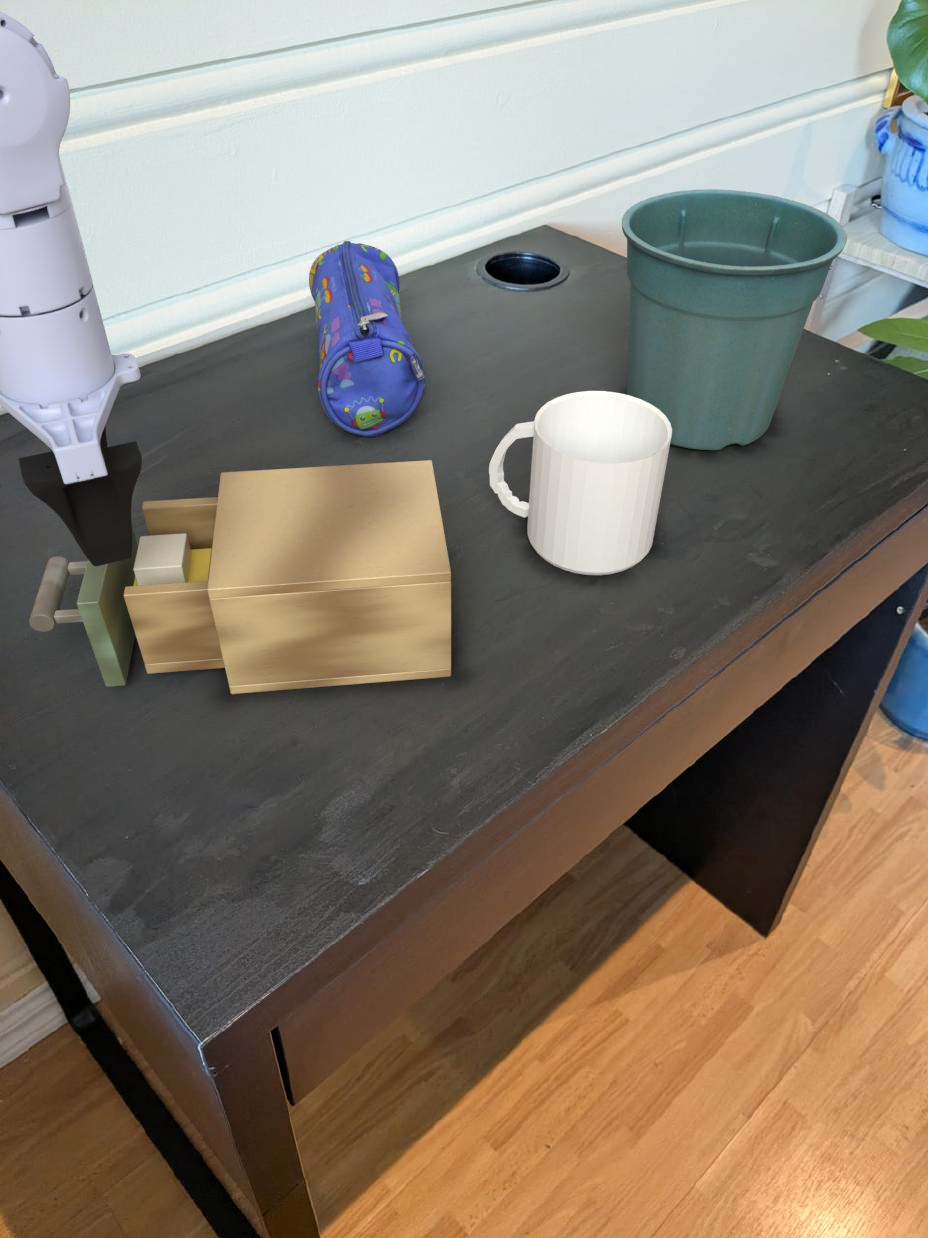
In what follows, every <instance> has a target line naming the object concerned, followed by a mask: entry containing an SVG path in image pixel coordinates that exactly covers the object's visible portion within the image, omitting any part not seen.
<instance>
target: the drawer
mask: <svg viewBox="0 0 928 1238" xmlns="http://www.w3.org/2000/svg"><path fill="white" fill-rule="evenodd" d="M217 501H218V496H211V497H196V498H194V497H193V498H180V499H177V498H176V499H164V500H163V499H162V500H147V501H143V502H142V506H141V511H142V514H143V518H144V522H145V525H146V529H147V533H148V536H152V535H168V534H183V533H186V534H187V537H188V541H189V545H190V550H193V549H208V548H212V545H213V536H214V527H215V519H216V510H217ZM138 545H139V543H138V540H137V537H136V533H135V531H134V526H133V525H132V554H131V557H130V558H129V559H125V560H121V561H117V562H113V563H108V564H104V565H100V566H93V565H92V563H91V562H90V561H89V560H88V559H87V560H82V561H69V560H68V559H67V558H66V557H63V556H57V555H56V556H52V557H50V558H49V559H48V560H47V562H46V565H45V568H44V572H43V575H42V577H41V581H40V584H39V588H38V591H37V594H36V597H35V601H34V604H33V607H32V610H31V613H30V617H29V620H28V623H29V626H30V628H32V629H33V630H34V631H37V632H41V633H47V632H51V631H52V630H53V629H54V628H55V626H56V624H58V625H59V624H71V623H72V624H73V623H83V626H84V629H85V632H86V635H87V637H88V640H89V643H90V646H91V649H92V651H93V654H94V657H95V660H96V663H97V665H98V666H97V667H98V668H99V672H100V674H101V677H102V680H103V682H104V686H105V687H106V688H111V687H124V686H127V681H128V677H129V672H130V671H129V670H130V666H131V661H132V654H133V649H134V645H135V639H136V641H137V644H138V647H139V651H140V655H141V657H142V660H143V664H144V667H145V671H146V674H147V675H151V674H164V673H175V672H176V673H177V672H189V671H201V670H214V669H225V666H224V661H223V657H222V652H221V648H220V644H219V639H218V635H217V631H216V626H215V622H214V617H213V613H212V609H211V604H210V600H209V595H208V591H207V588H208V581H200V582H186V583H171V584H157V585H142V586H133V585H134V580H135V573H134V570H133V569H134V564H135V559H136V554H137V550H138ZM79 575H83V578H82V582H81V585H80V589H79V593H78V595H77V600H76V607H77V608H71V609H69V608H68V609H60V607H61V604H62V600H63V597H64V594H65V590H66V586H67V583H68V579H69V576H79Z"/></svg>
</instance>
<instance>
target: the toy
mask: <svg viewBox="0 0 928 1238" xmlns="http://www.w3.org/2000/svg"><path fill="white" fill-rule="evenodd" d="M211 553H212V548H208V549H193V550H190V545H189V541H188V537H187V534H186V533H183V534H168V535H152V536H149V535H140V536H139V541H138V550H137V554H136V559H135V564H134V569H133V570H134V573H135V580H134V585H133V586H142V585H157V584H171V583H186V582H200V581H208V579H209V570H210V562H211Z"/></svg>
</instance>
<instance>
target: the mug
mask: <svg viewBox="0 0 928 1238" xmlns="http://www.w3.org/2000/svg"><path fill="white" fill-rule="evenodd" d="M671 435H672V428H671V424H670V422H669V420H668V419H667V417H666V416H665V415H664V414H663V413H662V412H661V411H660V410H659V409H657V408H656V407H654V406H653V405H651V404H650V403H648V402H645V401H643V400H641V399H638V398H635V397H632V396H629V395H627V394H625V393H620V392H616V391H615V392H614V391H606V390H585V391H576V392H572V393H566V394H563V395H560V396H557V397H555V398H553V399H551V400H549V401H547V402H546V403H545V404H544V405H542V406H541V407H540V408H539V409H538V411H537V412H536V414H535V417H534V420H533V421H526V422H520V423H516V424H515V425H514V426H513V427H512V428H511V429H510V430H509V431H508V432H507V433H506V434H505V435H504V436H503V438H502V439H501V441H500V442H499V444H498V445H497V447H496V448H495V450H494V453H493V454H492V457H491V459H490V462H489V465H488V474H489V487H490V488H491V489H492V491H493V492H494V494H497V497H498V499H499V501H500V503H501V505H502V506H504V507H505V508H506V509H507V510H508V511H510V512H511V513H513V514H515V515H516V516H518V517H521V518H524V519H525V518H527V524H526V525H527V526H526V527H527V528H526V530H527V531H526V532H527V537H528V540H529V544H530V545H531V546H532V548H533V549H534V551H535V552H536V553H537V555H539V556H540V558H542V559H543V560H544V561H545V562H547V563H549V564H551V565H552V566H554V567H556V568H559V569H560V570H563V571H566V572H570V573H574V574H579V575H586V576H604V575H613V574H618V573H621V572H624V571H626V570H628V569H632V568H633V567H634V566H635V565H637V564H639V563H640V562H641V561H642V560H643V559H644V558H645V557H646V556H647V555H648V554H649V552H650V550H651V549H652V546H653V543H654V537H655V531H656V525H657V521H658V514H659V508H660V502H661V499H662V498H661V497H662V492H663V485H664V480H665V474H666V469H667V464H668V458H669V452H670V446H671V444H670V442H671ZM525 438H532V448H531V449H532V450H531V451H532V452H531V464H530V465H531V467H530V480H529V481H530V482H529V495H528V502H526V501H523V500H521V501H520V499H519V498H518V497H517V496H516V495H513V491H512V490H510V488H509V485H508V483H507V482H506V481H505V472H504V462H505V458H506V454H507V451H508V449H509V447H510V446H511V445H512V444H513V443H514V442H515V441H516V440H518V439H525Z"/></svg>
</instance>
